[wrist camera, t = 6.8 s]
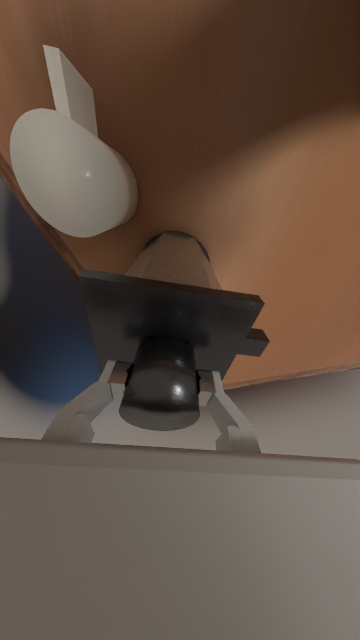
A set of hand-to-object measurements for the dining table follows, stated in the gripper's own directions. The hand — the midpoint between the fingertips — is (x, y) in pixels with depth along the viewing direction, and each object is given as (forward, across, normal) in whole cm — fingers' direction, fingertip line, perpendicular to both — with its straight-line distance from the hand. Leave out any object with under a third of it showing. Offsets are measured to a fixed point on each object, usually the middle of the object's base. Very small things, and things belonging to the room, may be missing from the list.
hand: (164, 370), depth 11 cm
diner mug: (+20, +10, -11) cm, 24 cm away
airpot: (+20, -1, 0) cm, 20 cm away
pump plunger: (+18, 0, 0) cm, 18 cm away
